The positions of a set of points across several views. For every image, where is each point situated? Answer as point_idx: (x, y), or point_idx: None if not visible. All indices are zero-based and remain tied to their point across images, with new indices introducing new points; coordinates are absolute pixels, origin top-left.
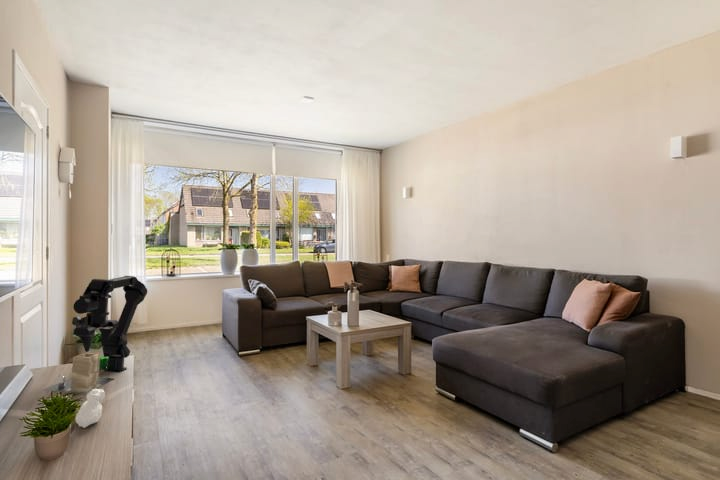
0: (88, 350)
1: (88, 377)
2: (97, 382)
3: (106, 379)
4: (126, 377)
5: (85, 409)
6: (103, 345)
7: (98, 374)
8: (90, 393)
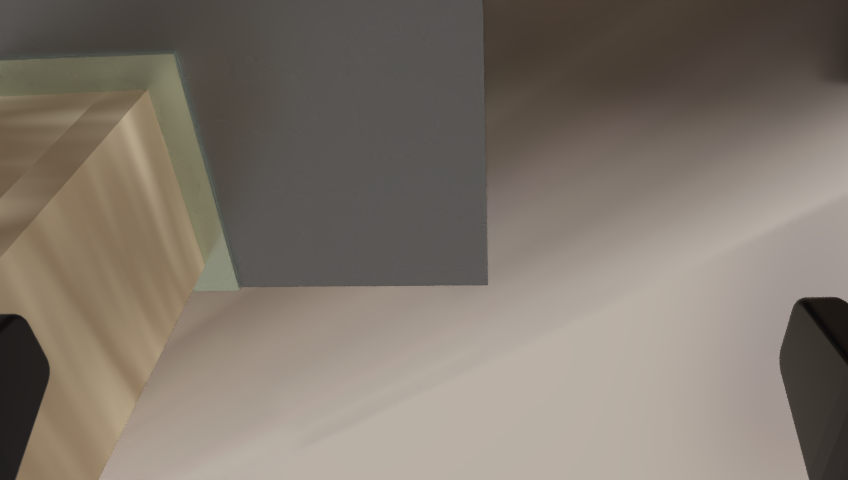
0: (11, 411)
1: None
2: (185, 288)
3: (423, 218)
4: (679, 264)
5: None
6: (788, 365)
7: (154, 361)
8: None
